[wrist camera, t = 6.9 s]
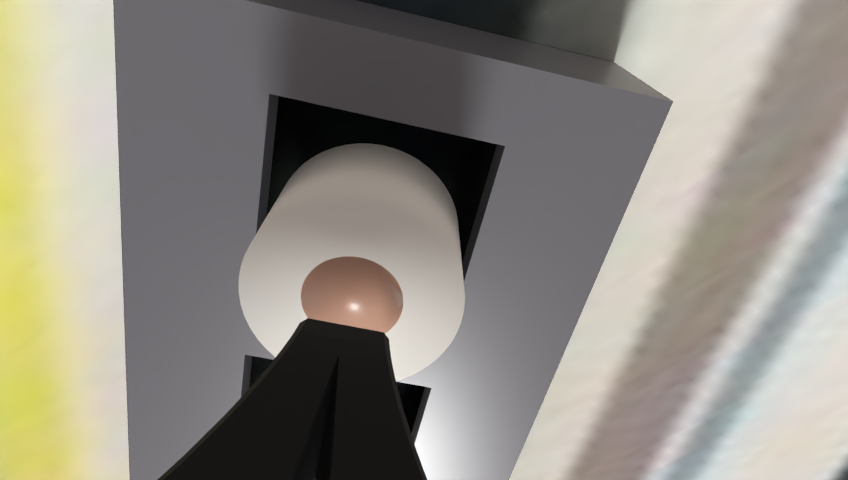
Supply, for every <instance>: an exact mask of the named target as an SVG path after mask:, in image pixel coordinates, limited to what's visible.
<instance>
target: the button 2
mask: <svg viewBox="0 0 848 480" xmlns="http://www.w3.org/2000/svg"><path fill="white" fill-rule="evenodd" d="M239 298H240V304H241V307H242V310H243V314H244V317H245V319H246V321H247V323H248V325H249V327H250V329H251V330H252V332H253V333H254V335H255V336H256V338H257V339H258V340H259V341H260V343H261V344H262V345H263V346H264V347H265V348H266V349H267V350H268V351H269V352H270V353H271V354H272V355H273V356H274V357H276V356H277V355H278V354H279V352H280V351H281V350H282V349H283V347H284V346H285V344H286V343H287V342H288V340H289V339H290V337H291V336H292V335H293V333H294V332H295V330H296V328H297V327H298V325H299V323H300V322H302V321H304V320H306V319H307V318H310V319H315V320H320V321H326V322H331V323H336V324H342V325H347V326H352V327H358V328H363V329H369V330H374V331H379V332H384V333H385V335H386V336H387V337H388V339H389V345H390V353H391V360H392V366H393V370H394V375H395V379H396V381H398V380H402V379H404V378H407V377H409V376H411V375H414V374H416V373H417V372H419V371H421V370H423V369H424V368H426V367H427V366H429V365H430V364H431V363H433V362H434V361H435V360H436V359H437V358H438V357H439V356H440V355H441V354H443V353H444V351H445V350H446V349H447V348H448V346H449V345H450V344H451V342H452V341H453V339H454V337H455V335H456V334H457V332H458V329H459V327H460V324H461V322H462V317H463V313H464V306H465V291H464V280H463V270H462V259H461V249H460V238H459V227H458V217H457V213H456V209H455V205H454V203H453V200H452V198H451V195H450V194H449V192H448V190H447V188H446V187H445V185H444V184H443V183H442V181H441V180H440V179H439V177H438V176H437V175H436V174H435V173H434V172H433V171H432V170H431V169H430V168H429V167H427V166H426V165H425V164H423V163H422V162H421V161H420V160H418V159H416V158H414V157H413V156H411V155H409V154H407V153H405V152H402V151H400V150H398V149H395V148H391V147H388V146H384V145H377V144H366V143H357V144H347V145H342V146H338V147H334V148H331V149H328V150H326V151H323V152H321V153H319V154H317V155H316V156H314V157H312V158H311V159H309V160H308V161H306V162H305V163H304V164H302V165H301V166H300V167H299V168H298V169H297V170H296V171H295V172H294V174H293V175H292V176H291V178H290V179H289V180H288V182H287V183H286V185H285V187H284V188H283V190H282V192H281V193H280V195H279V197H278V198H277V200H276V202H275V203H274V205H273V207H272V208H271V210H270V212H269V213H268V215H267V217H266V218H265V220H264V222H263V223H262V225H261V227H260V229H259V230H258V232H257V234H256V235H255V237H254V239H253V240H252V242H251V244H250V245H249V247H248V249H247V251H246V253H245V255H244V258H243V261H242V264H241V267H240V273H239Z"/></svg>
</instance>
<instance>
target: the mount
mask: <svg viewBox="0 0 848 480" xmlns="http://www.w3.org/2000/svg"><path fill="white" fill-rule="evenodd" d="M113 4H114V33H115V62H116V91H117V120H118V149H119V178H120V207H121V237H122V266H123V295H124V324H125V353H126V382H127V411H128V440H129V469H130V480H157V479H159V478H160V477H161V476H162V475H163V474H164V473H165V472H166V471H167V470H168V469H170V468H171V467H172V466H173V465H174V464H175V463H176V462H177V461H178V460H179V459H181V458H182V457H183V456H184V455H185V454H186V453H187V452H188V451H189V450H190V449H191V448H192V447H193V446H194V445H195V444H196V443H197V442H198V441H199V440H200V439H201V438H202V437H203V436H204V435H205V434H206V433H207V432H208V431H209V430H210V429H211V428H212V427H213V426H214V425H215V424H216V423H217V422H218V421H219V420H220V419H221V418H222V417H223V416H224V415H225V414H226V413H227V412H228V411H229V410H230V409H231V408H232V407H233V406H234V405H235V404H236V402H237V401H238V400H239V399H240V398H241V397H242V396H243V395H244V394H245V392H246V391H247V390H248V389H249V384H250V374H251V365H252V356H255V357H261V358H267V359H272V360H274V359H275V357H274V356H273V355H272V354H271V353H270V352H269V351H268V350H267V349H266V348H265V347H264V346H263V345H262V344H261V343H260V341H259V340H258V339H257V338H256V336H255V335H254V333H253V332H252V330H251V329H250V327H249V325H248V323H247V321H246V319H245V317H244V314H243V310H242V307H241V304H240V298H239V273H240V267H241V264H242V261H243V258H244V255H245V253H246V251H247V249H248V247H249V245H250V244H251V242H252V240H253V239H254V237H255V235H256V234H257V232H258V230H259V229H260V227H261V225H262V223H263V222H264V220H265V218H266V217H267V207H268V197H269V187H270V178H271V168H272V158H273V148H274V138H275V128H276V119H277V109H278V99H279V96H282V97H286V98H291V99H295V100H300V101H304V102H309V103H313V104H318V105H322V106H327V107H331V108H336V109H340V110H345V111H349V112H354V113H358V114H363V115H367V116H372V117H376V118H381V119H385V120H390V121H394V122H399V123H403V124H408V125H412V126H417V127H421V128H426V129H430V130H435V131H439V132H444V133H448V134H453V135H457V136H462V137H466V138H471V139H475V140H480V141H484V142H489V143H493V144H497V146H496V150H495V153H494V156H493V160H492V163H491V167H490V170H489V173H488V177H487V180H486V183H485V187H484V190H483V194H482V197H481V200H480V204H479V207H478V210H477V214H476V217H475V220H474V224H473V227H472V231H471V234H470V237H469V241H468V244H467V247H466V251H465V254H464V258H463V261H462V270H463V280H464V291H465V306H464V313H463V317H462V322H461V324H460V327H459V329H458V332H457V334H456V335H455V337H454V339H453V341H452V342H451V344H450V345H449V346H448V348H447V349H446V350H445V351H444V353H443V354H441V355H440V356H439V357H438V358H437V359H436V360H435V361H434V362H433V363H431V364H430V365H429V366H427V367H426V368H424V369H423V370H421V371H419V372H417V373H416V374H414V375H411V376H409V377H407V378H404V379H402V380H398V381H396V382H401V383H407V384H412V385H418V386H424V387H425V389H424V392H423V396H422V399H421V402H420V406H419V409H418V413H417V416H416V419H415V423H414V426H413V429H412V433H411V435H412V438H413V441H414V444H415V448H416V450H417V453H418V456H419V459H420V461H421V464H422V467H423V470H424V472H425V475H426V477H427V480H509V478H510V476H511V473H512V471H513V469H514V467H515V464H516V462H517V460H518V457H519V455H520V453H521V450H522V448H523V446H524V444H525V441H526V439H527V437H528V434H529V432H530V430H531V427H532V425H533V423H534V420H535V418H536V416H537V414H538V411H539V409H540V407H541V404H542V402H543V400H544V397H545V395H546V393H547V391H548V388H549V386H550V384H551V381H552V379H553V377H554V374H555V372H556V370H557V368H558V365H559V363H560V361H561V358H562V356H563V354H564V351H565V349H566V347H567V344H568V342H569V340H570V338H571V335H572V333H573V331H574V328H575V326H576V324H577V321H578V319H579V317H580V315H581V312H582V310H583V308H584V305H585V303H586V301H587V298H588V296H589V294H590V292H591V289H592V287H593V285H594V282H595V280H596V278H597V275H598V273H599V271H600V268H601V266H602V264H603V262H604V259H605V257H606V255H607V252H608V250H609V248H610V245H611V243H612V241H613V239H614V236H615V234H616V232H617V229H618V227H619V225H620V222H621V220H622V218H623V216H624V213H625V211H626V209H627V206H628V204H629V202H630V199H631V197H632V195H633V193H634V190H635V188H636V186H637V183H638V181H639V179H640V176H641V174H642V172H643V169H644V167H645V165H646V163H647V160H648V158H649V156H650V153H651V151H652V149H653V146H654V144H655V142H656V140H657V137H658V135H659V133H660V130H661V128H662V126H663V123H664V121H665V119H666V117H667V114H668V112H669V110H670V107H671V105H672V103H673V101H672V100H670V99H669V98H667V97H666V96H664V95H663V94H661V93H660V92H658V91H656V90H655V89H653V88H652V87H650V86H649V85H647V84H646V83H644V82H643V81H641V80H640V79H638V78H637V77H635V76H634V75H632V74H631V73H629V72H628V71H626V70H625V69H623V68H622V67H620V66H619V65H617V64H616V63H614V62H610V61H606V60H602V59H598V58H594V57H590V56H586V55H581V54H577V53H573V52H569V51H565V50H561V49H556V48H552V47H548V46H544V45H540V44H536V43H532V42H527V41H523V40H519V39H515V38H511V37H507V36H503V35H498V34H494V33H490V32H486V31H482V30H478V29H473V28H469V27H465V26H461V25H457V24H453V23H449V22H444V21H440V20H436V19H432V18H428V17H424V16H420V15H415V14H411V13H407V12H403V11H399V10H395V9H390V8H386V7H382V6H378V5H374V4H370V3H366V2H361V1H357V0H113Z"/></svg>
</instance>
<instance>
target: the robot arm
mask: <svg viewBox="0 0 848 480" xmlns="http://www.w3.org/2000/svg"><path fill="white" fill-rule="evenodd" d="M157 480H427V477H426V475H425V472H424V470H423V467H422V464H421V461H420V459H419V456H418V453H417V450H416V448H415V444H414V441H413V438H412V435H411V432H410V429H409V426H408V423H407V420H406V416H405V413H404V410H403V406H402V403H401V399H400V396H399V392H398V388H397V384H396V379H395V375H394V370H393V366H392V360H391V353H390V345H389V339H388V337H387V336H386V335H385V333H384V332H379V331H374V330H369V329H363V328H358V327H352V326H347V325H342V324H336V323H331V322H326V321H320V320H315V319H310V318H307V319H306V320H304V321H302V322H300V323H299V325H298V327H297V328H296V330H295V332H294V333H293V335H292V336H291V337H290V339H289V340H288V342H287V343H286V344H285V346H284V347H283V349H282V350H281V351H280V352H279V354H278V355H277V356H276V357H275V359H274V360H273V361H272V362H271V364H270V365H269V366H268V367H267V369H266V370H265V371H264V372H263V373H262V375H261V376H260V377H259V378H258V379H257V380H256V381H255V382H254V383H253V385H252V386H251V387H250V388H249V389H248V390H247V391H246V392H245V394H244V395H243V396H242V397H241V398H240V399H239V400H238V401H237V402H236V404H235V405H234V406H233V407H232V408H231V409H230V410H229V411H228V412H227V413H226V414H225V415H224V416H223V417H222V418H221V419H220V420H219V421H218V422H217V423H216V424H215V425H214V426H213V427H212V428H211V429H210V430H209V431H208V432H207V433H206V434H205V435H204V436H203V437H202V438H201V439H200V440H199V441H198V442H197V443H196V444H195V445H194V446H193V447H192V448H191V449H190V450H189V451H188V452H187V453H186V454H185V455H184V456H183V457H182V458H181V459H179V460H178V461H177V462H176V463H175V464H174V465H173V466H172V467H171V468H170V469H168V470H167V471H166V472H165V473H164V474H163V475H162V476H161V477H160V478H159V479H157Z"/></svg>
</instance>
